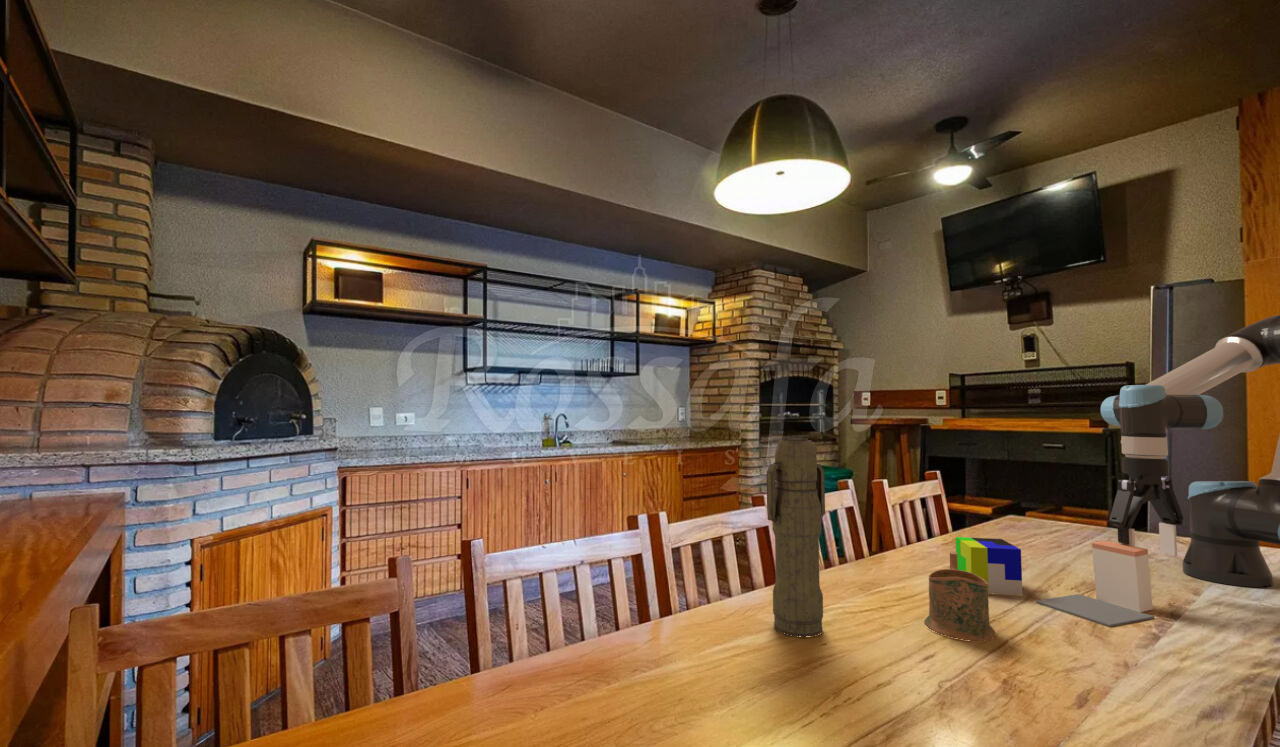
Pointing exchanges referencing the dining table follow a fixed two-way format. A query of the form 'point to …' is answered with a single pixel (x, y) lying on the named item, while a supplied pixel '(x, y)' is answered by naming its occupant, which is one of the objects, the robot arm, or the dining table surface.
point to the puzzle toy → (992, 563)
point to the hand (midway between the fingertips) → (1148, 557)
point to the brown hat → (959, 604)
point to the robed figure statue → (796, 536)
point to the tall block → (1122, 575)
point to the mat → (1095, 610)
